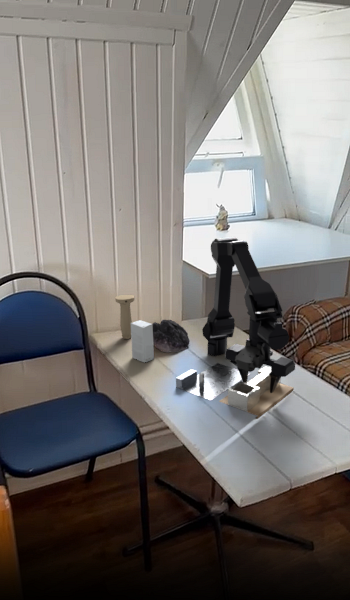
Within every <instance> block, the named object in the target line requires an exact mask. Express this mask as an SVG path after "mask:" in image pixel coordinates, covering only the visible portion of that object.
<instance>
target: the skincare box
mask: <svg viewBox="0 0 350 600" xmlns="http://www.w3.org/2000/svg"><path fill="white" fill-rule="evenodd" d="M130 340H131V356H132V359H134V360H136V359H137V361H139V362H142V363H145V362H146V363H147V362H151V361H152V360H154V359H155V356H154V354H155V353H154V352H155V351H154V349H155V347H154V344H153V323H150V322H148V321H144V320H141V319H139V320H136V321H132V323H131V338H130Z"/></svg>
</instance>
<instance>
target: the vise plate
mask: <svg viewBox="0 0 350 600" xmlns="http://www.w3.org/2000/svg"><path fill="white" fill-rule="evenodd" d="M250 375H251V372H248V376H250ZM240 381H242V378H241V375H240V373H239V370H238V368H234V367H231V366H228V365H225V364H223V363H218V362H217V363H215V364H213V365H211V366H210V367H208V368H207V369H205V370H203V371H202V372H199V373H198V371H197V370H195V369H193V368H191V369H188V370H187V371H186V372H184V373H181V374H180V375H179V376H176V377H175V387H176V388H177V389H179V390H182V391H183V392H187V393H190V394H192V395H195V396H198V397H200V398H202V399H205V400H208V401H210V402H211V401H212V400H214V399H215V398H217V397H218V396H220V395H221V394H223V393H224V392H226V391H228V389H230V388H231V387H233V386H234V385H236V384H237V383H239V382H240ZM176 388H175V389H176Z"/></svg>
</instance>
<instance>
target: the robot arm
mask: <svg viewBox="0 0 350 600" xmlns="http://www.w3.org/2000/svg"><path fill="white" fill-rule="evenodd" d="M210 253H211V257H212V259H213V261H214V262H215V264H216V269H215V270H216V271H215V281H214V282H215V283H214V284H215V285H214V299H213V300H214V301H213V307H212V309H211V311H210V312H209V313H208V315H207V320H206V321H207V322H206V323H205V324H204V326H203V327H202V331H201V332H202V337H204V338H205V340H207V355H208V356H211V357H217V356H223V355H224V358H225V360H228V361H229V362H230V363H231V364H233V365H235V367H236V369H238V370H239V373H240V375H241V378H242V380H241V381H242V382H245V383H247V382H248V377H249V375H248V373H252V372H253V371H255V369H262V368H263V366H264V365H265V366H267V367H270V368H271V371H272V372H271V373H269V375H270V377H271V381H270V393H273V392H274V390H275V388H276V386H277V384H278V382H279V380H280V378H281V379H282V377H287V376H288V375H290V374H291V373H292V372H294V371H295V370H296V362H295V361H294V359H291V358H288V357H284V356H281V357H279V358H278V359H274V358H271V357H272V356H273V355H274V352H273V351H272V350H275V351H279V350H282V349H283V348H285V347H286V346H287V344H288V343H289V341H290V335H289V332H288V330H287V329H285V328H284V325H283V323H282V322H281V321H279V320H278V319H282V318H283V313H282V312H283V309H282V308H283V307H281V303H280V301H279V298H278V297H279V296H278V295H277V292H275V290H274V288H273V287H272V285H271V283H270V282H267V281H265V280H264V279H263V278H262V276H261V274H260V271H259V270H258V267H257V265H256V263H255V261H254V259H253V256H252V255H251V253H250V250H249V243H248V242H247V241H246V240H242V239H238V237H236V236H229V237H218V238H214V240H212V242H211V244H210ZM234 267H236V269H237V272H238V274H239V276H240V277H239V278H240V279H241V281H242V283H243V285H244V289H245V290H244V291H245V292H244V295H243V297H244V303H245V306H246V309H247V312H246V313H247V314H248V316H249V326H248V327H249V328H248V329H249V332H248V338H247V339H246V341H245V345H242V344H240V343H235V344H233V345H232V346H230V347H228V338H233V337H234V333H235V328H236V324H235V318H234V317H233V315H232V313H231V311H230V306H231V305H230V304H231V294H232V293H231V292H232V291H231V290H232V281H233V270H234V269H233V268H234ZM266 311H267V312H266ZM271 349H272V350H271Z"/></svg>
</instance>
